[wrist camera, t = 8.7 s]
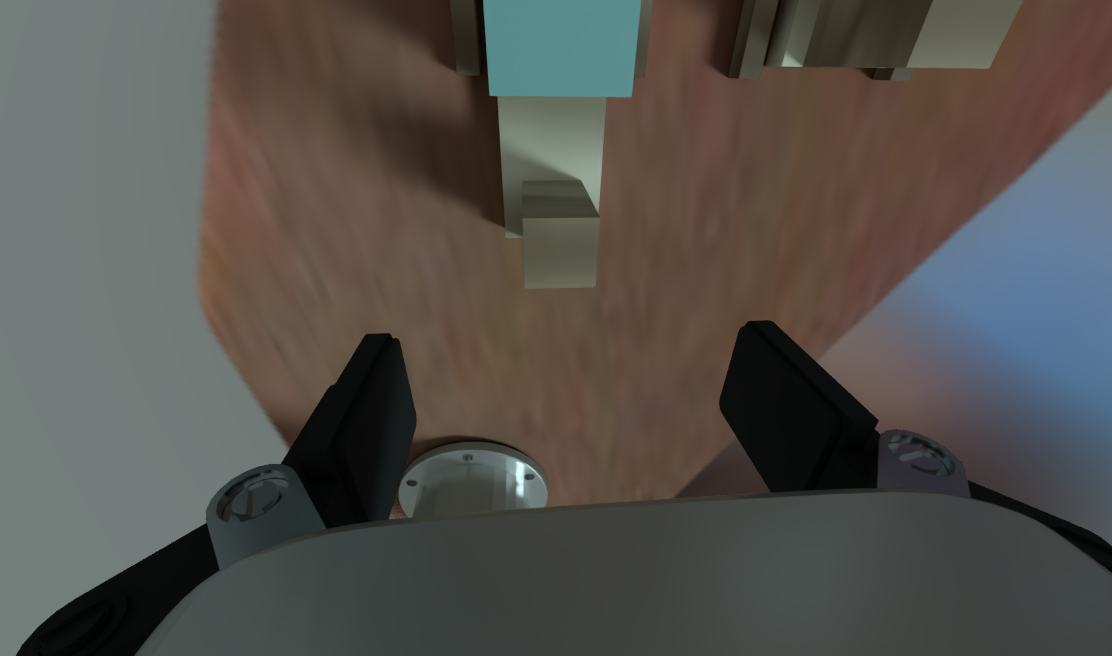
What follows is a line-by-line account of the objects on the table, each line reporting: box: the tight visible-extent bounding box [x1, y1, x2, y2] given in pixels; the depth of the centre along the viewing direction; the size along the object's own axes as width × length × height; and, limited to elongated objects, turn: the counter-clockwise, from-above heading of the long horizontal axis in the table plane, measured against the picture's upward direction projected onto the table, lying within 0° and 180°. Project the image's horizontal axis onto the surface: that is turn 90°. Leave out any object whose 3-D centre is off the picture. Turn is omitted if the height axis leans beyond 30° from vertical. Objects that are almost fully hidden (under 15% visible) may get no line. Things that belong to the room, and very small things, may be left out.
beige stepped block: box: [497, 96, 606, 289], centre depth 17 cm, size 12×5×8 cm, turn 179°
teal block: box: [483, 0, 641, 97], centre depth 15 cm, size 5×5×5 cm
